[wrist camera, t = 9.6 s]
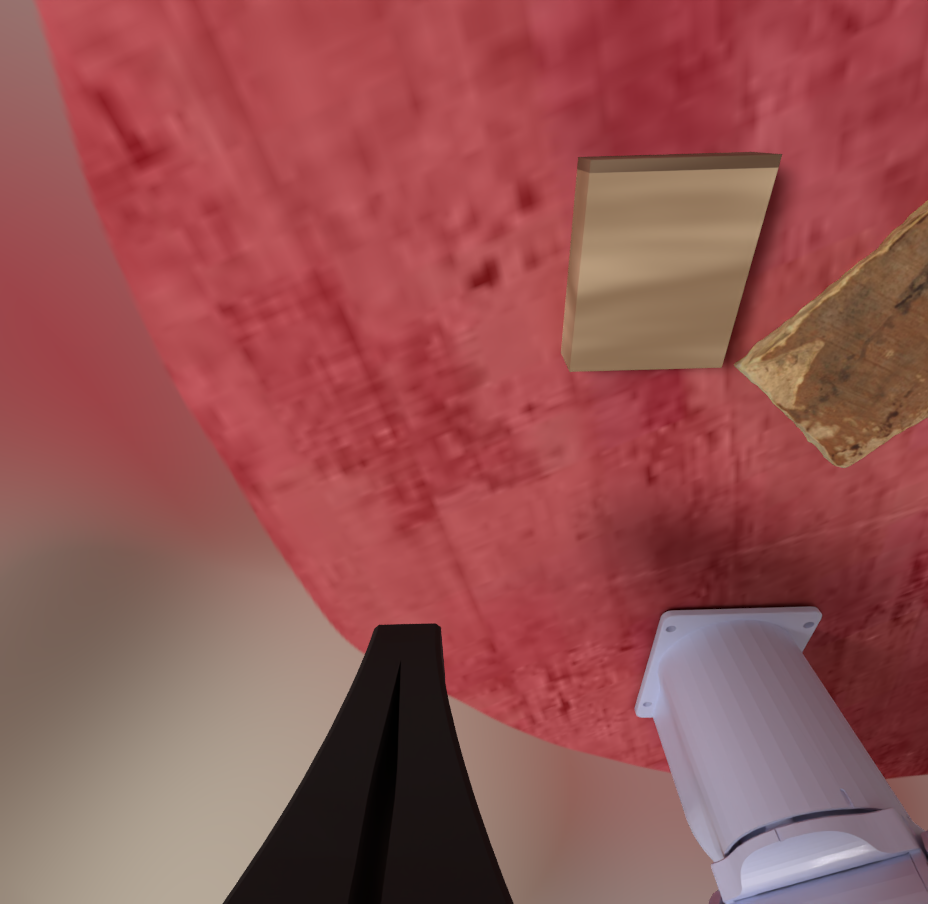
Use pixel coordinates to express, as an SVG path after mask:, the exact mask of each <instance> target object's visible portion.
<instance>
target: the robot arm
mask: <svg viewBox="0 0 928 904" xmlns="http://www.w3.org/2000/svg"><path fill="white" fill-rule="evenodd" d="M821 618H822V614H821V612H820V611H819V609H818V608H816V607H812V606H807V607H772V608H738V609H703V610H671V611H667V612H665V613H664V614H662V616H661V618H660V622H659V625H658V629H657V632H656V635H655V639H654V642H653V646H652V649H651V653H650V656H649V660H648V663H647V667H646V670H645V674H644V677H643V681H642V684H641V688H640V691H639V694H638V698H637V701H636V705H635V712H636V715H637V716H638V717H643V718H645V717H653V719H654V722H655V725H656V728H657V731H658V734H659V737H660V740H661V743H662V746H663V749H664V752H665V755H666V758H667V761H668V764H669V767H670V770H671V773H672V776H673V779H674V782H675V785H676V788H677V791H678V794H679V797H680V800H681V804H682V807H683V809H684V812H685V816H686V818H687V821H688V823H689V826H690V828H691V831H692V833H693V834H694V836H695V838H696V839H697V841H698V843H699V844H700V846H701V847H702V848H703V850H704V851H705V852H706V853H707V854H708V856H709V857H710V858H711V859H712V860H713V861H714V863H712V864H711V868H712V871H713V874H714V877H715V880H716V883H717V886H718V888H719V890H717V891H716V892H715V893H713V895H712V896H711V898H710V901H709V904H928V830H927V831H925V830H923V829H922V828H921V827H919V826H918V825H916V824H915V823H914V822H913V821H912V819H911V818H910V816H909V815H908V813H907V812H906V810H905V809H904V807H903V806H902V804H901V803H900V801H899V800H898V798H897V797H896V795H895V793H894V792H893V791H892V789H891V787H890V786H889V784H888V783H887V781H886V780H885V778H884V777H883V775H882V774H881V772H880V771H879V769H878V768H877V766H876V764H875V763H874V761H873V760H872V758H871V757H870V755H869V754H868V752H867V751H866V749H865V748H864V746H863V745H862V743H861V742H860V740H859V739H858V737H857V736H856V734H855V732H854V731H853V729H852V728H851V726H850V725H849V723H848V722H847V720H846V719H845V717H844V716H843V714H842V713H841V711H840V710H839V708H838V707H837V705H836V704H835V702H834V700H833V699H832V697H831V696H830V694H829V693H828V691H827V690H826V688H825V687H824V685H823V684H822V682H821V681H820V679H819V678H818V676H817V675H816V673H815V672H814V670H813V668H812V667H811V665H810V664H809V662H808V661H807V659H806V658H805V656H804V655H803V653H802V652H803V650H804V648H805V646H806V645H807V643H808V641H809V639H810V637H811V636H812V634H813V632H814V630H815V629H816V627H817V625H818V623H819V622H820V620H821ZM223 904H513V901H512V899H511V896H510V894H509V891H508V889H507V886H506V884H505V881H504V879H503V876H502V873H501V870H500V868H499V865H498V862H497V859H496V857H495V854H494V851H493V848H492V846H491V843H490V840H489V837H488V834H487V832H486V829H485V826H484V823H483V820H482V817H481V814H480V811H479V808H478V805H477V802H476V799H475V796H474V793H473V790H472V786H471V783H470V780H469V777H468V773H467V770H466V767H465V763H464V760H463V757H462V753H461V749H460V745H459V742H458V738H457V734H456V730H455V726H454V722H453V717H452V713H451V709H450V705H449V700H448V695H447V690H446V684H445V670H444V659H443V647H442V636H441V627H440V626H438V625H437V624H396V625H378V626H377V627H376V628H375V629H374V631H373V634H372V637H371V640H370V643H369V645H368V648H367V651H366V653H365V656H364V658H363V660H362V663H361V665H360V668H359V670H358V672H357V675H356V677H355V679H354V681H353V683H352V686H351V688H350V690H349V692H348V694H347V696H346V698H345V700H344V702H343V704H342V706H341V708H340V711H339V712H338V714H337V716H336V719H335V720H334V723H333V725H332V727H331V729H330V730H329V733H328V734H327V736H326V738H325V740H324V742H323V744H322V745H321V747H320V749H319V751H318V753H317V754H316V756H315V758H314V760H313V762H312V763H311V765H310V767H309V769H308V771H307V772H306V774H305V776H304V778H303V780H302V782H301V783H300V785H299V787H298V788H297V790H296V792H295V793H294V795H293V797H292V798H291V800H290V802H289V803H288V805H287V807H286V808H285V810H284V811H283V813H282V815H281V816H280V818H279V820H278V821H277V823H276V824H275V826H274V827H273V829H272V831H271V832H270V834H269V835H268V837H267V839H266V840H265V842H264V843H263V845H262V846H261V848H260V849H259V851H258V852H257V854H256V855H255V857H254V858H253V860H252V861H251V863H250V864H249V866H248V867H247V869H246V870H245V872H244V873H243V875H242V876H241V877H240V879H239V880H238V882H237V884H236V885H235V887H234V888H233V890H232V891H231V892H230V894H229V895H228V896H227V898H226V899H225V901H224V903H223Z"/></svg>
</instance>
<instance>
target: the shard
mask: <svg viewBox="0 0 928 904" xmlns="http://www.w3.org/2000/svg"><path fill="white" fill-rule="evenodd" d="M734 366H735V367H736V368H737V369H738V370H739V371H740V372H742V373H743V374H744V375H745V376H746V377H747V378H748V379H749V380H750V381H751V382H752V383H754V384H756V385H757V386H758V387H759V388H760V389H761V390H762V391H763V392H764V393H765V394H767V396H768V397H769V398H770V400H771V401H772V403H773V404H774V405H775V406H776V407H778V408H779V409H780V410H781V411H783V413H784V414H785V415H786V416H787V417H788V418H790V419H791V420H792V421H793V422H794V423H795V425H796V426H797V427H798V428H800V430H801V431H802V432H803V433H804V435H805V436H806V438H807V440H808V442H811V443H813V444H814V445H815V446H816V447H817V448H818V449H819V450H820V452H821V453H822V455H823V456H824V457H825V458H826V459H827V460H828V461H829V462H831V463H832V464H833V465H834V466H838V467H842V468H846V467H849V466H850V465H852V464H854V463H855V462H857V461H858V460H860V459H862V458H863V457H865V456H866V455H867V454H869V453H870V452H872V451H873V450H875V449H876V448H877V447H878V446H880V445H882V444H884V443H885V442H887V441H888V440H889V439H890V438H892V437H893V436H894V435H896V434H899V433H901V432H902V431H904V430H905V429H907V428H909V427H911V426H913V425H915V424H917V423H919V422H920V421H922V420H923V419H925V418H927V417H928V200H927V201H926V202H925V203H924V204H923V205H922V206H920V207H919V208H918V209H917V210H916V211H914V212H913V213H912V214H910V215H909V217H908V218H907V219H906V220H905V222H904V223H903V224H902V225H900V226H899V227H897V228H896V229H894V230H893V231H892V232H891V233H890V234H889V235H888V236H887V238H886V239H885V240H884V241H883V242H882V244H881V245H880V246H879V248H878V249H876V250H875V251H874V252H872V253H871V254H870V255H868V256H867V257H866V258H864V259H863V260H861V261H859V262H858V263H857V264H856V265H855V266H854V267H853V268H852V269H850V270H849V271H848V272H846V273H845V274H844V275H843V276H842V277H841V278H840V279H839V280H837V281H836V282H834V283H833V284H831V285H830V286H828V287H827V288H826V289H825V290H824V291H823V292H822V293H821V294H820V295H818V296H817V297H816V298H815V299H814V300H812V301H811V302H809V303H808V304H807V305H805V306H804V307H803V308H802V309H801V310H800V311H799V312H798V313H797V314H796V315H794V316H793V317H792V318H790V319H789V320H787V321H785V322H784V323H783V324H782V325H781V326H780V327H779V328H777V329H776V330H775V331H773V332H772V333H770V334H769V335H768V336H766V337H765V338H764V339H762V340H760V341H759V342H758V343H757V344H755V345H754V346H753V348H752V349H751V350H750V351H749V353H748V354H747V355H746V356H745V357H744V358H742V359H741V360H739V361H738V362H736V363H735V364H734Z"/></svg>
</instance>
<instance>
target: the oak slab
mask: <svg viewBox="0 0 928 904" xmlns="http://www.w3.org/2000/svg"><path fill="white" fill-rule="evenodd" d="M781 157H782V154H771V153H758V152H735V153H701V154H668V155H634V156H600V157H578V166H577V177H576V188H575V200H574V211H573V222H572V234H571V245H570V256H569V268H568V279H567V290H566V301H565V313H564V324H563V335H562V347H561V354H562V356H563V358H564V361H565V363H566V365H567V367H568V369H569V371H570V372H576V371H612V370H649V369H686V368H722V365H723V361H724V358H725V354H726V350H727V347H728V343H729V340H730V336H731V333H732V329H733V326H734V322H735V319H736V315H737V312H738V308H739V305H740V301H741V298H742V294H743V291H744V287H745V284H746V280H747V277H748V273H749V269H750V266H751V262H752V259H753V255H754V252H755V248H756V245H757V241H758V238H759V234H760V231H761V227H762V224H763V220H764V217H765V213H766V210H767V206H768V203H769V199H770V196H771V192H772V188H773V185H774V181H775V178H776V174H777V171H778V167H779V164H780V160H781Z"/></svg>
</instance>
